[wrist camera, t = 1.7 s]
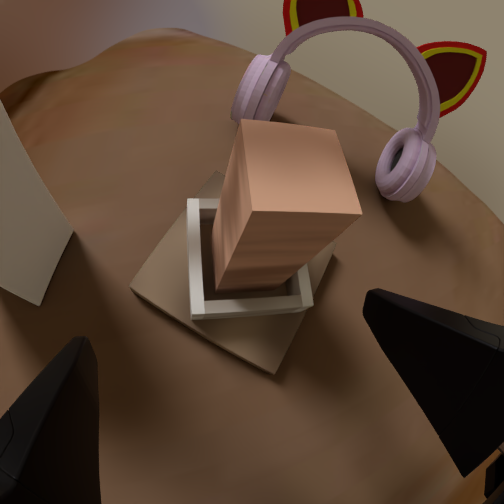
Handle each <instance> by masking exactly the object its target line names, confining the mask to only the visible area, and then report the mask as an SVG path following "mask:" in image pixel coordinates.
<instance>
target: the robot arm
mask: <svg viewBox="0 0 504 504" xmlns="http://www.w3.org/2000/svg"><path fill="white" fill-rule="evenodd" d="M363 316H364V318H365V320H366V322H367V324H368V325H369V327H370V329H371V331H372V333H373V334H374V336H375V338H376V340H377V342H378V343H379V345H380V347H381V349H382V350H383V352H384V353H385V355H386V356H387V358H388V359H389V361H390V362H391V363H392V365H393V366H394V368H395V369H396V371H397V372H398V374H399V375H400V377H401V378H402V380H403V381H404V383H405V384H406V386H407V387H408V389H409V390H410V392H411V393H412V395H413V396H414V398H415V399H416V401H417V403H418V404H419V406H420V407H421V409H422V410H423V412H424V413H425V415H426V417H427V418H428V420H429V421H430V423H431V425H432V426H433V428H434V429H435V431H436V433H437V434H438V436H439V438H440V440H441V441H442V443H443V444H444V446H445V448H446V449H447V451H448V453H449V454H450V456H451V458H452V460H453V461H454V463H455V465H456V466H457V468H458V470H459V472H460V473H461V475H462V476H463V477H464V478H465V477H466V476H467V475H468V474H470V473H471V472H472V471H473V470H474V469H476V468H477V467H478V466H479V465H480V464H481V463H482V462H483V461H484V460H486V459H487V458H488V457H489V456H490V455H491V454H492V453H493V452H494V451H495V450H496V449H498V450H499V451H500V452H501V453H500V454H499V455H498V457H497V458H496V459H495V460H494V461H493V462H492V463H491V464H490V465H489V466H488V467H487V468H486V479H485V491H484V495H485V497H486V498H487V500H486V501H485V502H484V503H483V504H504V326H501V325H497V324H493V323H489V322H485V321H482V320H479V319H475V318H472V317H469V316H466V315H465V316H464V315H462V314H459V313H456V312H453V311H450V310H446V309H443V308H440V307H437V306H434V305H430V304H427V303H424V302H421V301H418V300H414V299H411V298H408V297H405V296H402V295H398V294H395V293H392V292H389V291H386V290H382V289H379V288H376V289H372V290H369V291H368V292H367V294H366V298H365V302H364V306H363ZM0 504H101V494H100V479H99V394H98V370H97V359H96V356H95V353H94V351H93V349H92V346H91V343H90V341H89V339H88V337H86V336H78V337H74V338H72V340H71V341H70V342H69V343H68V344H67V345H66V346H65V347H64V348H63V349H62V350H61V351H60V352H59V353H58V354H57V355H56V356H55V357H54V358H53V359H52V361H51V362H50V363H49V364H48V365H47V366H46V367H45V368H44V369H43V370H42V371H41V372H40V374H39V375H38V376H37V377H36V378H35V379H34V380H33V381H32V382H31V384H30V385H29V386H28V387H27V388H26V389H25V390H24V392H23V393H22V394H21V395H20V396H19V397H18V398H17V400H16V401H15V402H14V403H13V404H12V405H11V407H10V408H9V410H7V411H6V413H5V414H4V415H3V416H2V417H1V419H0Z"/></svg>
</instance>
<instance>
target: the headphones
mask: <svg viewBox="0 0 504 504" xmlns="http://www.w3.org/2000/svg"><path fill="white" fill-rule="evenodd" d="M283 18H284V25H285V32H286V37H285V38H284V39H283V41H282V42H281V43H280V44H279V45H278V46H277V48H276V49H275V51H274V52H273V54H271V55H269V56H264V55H260V54H259V55H257V56H256V57H255V58H254V59H253V61H252V62H251V64H250V65H249V67H248V68H247V70H246V72H245V74H244V76H243V78H242V80H241V82H240V85H239V87H238V90H237V92H236V95H235V98H234V101H233V105H232V109H231V119H232V120H234V121H235V122H237V123H238V124H240V120H241V119H249V120H260V121H270V119H271V117H272V115H273V113H274V111H275V109H276V107H277V105H278V102H279V100H280V98H281V96H282V94H283V91H284V89H285V86H286V84H287V81H288V79H289V76H290V73H291V68H290V65H289V64H288V63H287V62H285V61H284V58H285V56H286V55H287V54H290V53H292V52H293V51H294V50H295V49H296V48H297V47H298V46H299V45H300V44H301V43H303V42H304V41H306V40H307V39H309V38H311V37H313V36H316V35H318V34H322V33H326V32H333V31H341V30H354V31H361V32H366V33H370V34H373V35H375V36H378V37H380V38H382V39H384V40H385V41H386V42H388V43H390V44H391V45H392V46H393V47H394V48H395V49H396V50H397V51H398V52H399V53H400V54H401V55H402V56H403V58H404V59H405V61H406V62H407V64H408V66H409V68H410V69H411V71H412V73H413V75H414V78H415V80H416V83H417V85H418V91H419V103H420V104H419V113H418V115H417V119H418V123H417V125H416V126H415V128H404V129H402V130H400V131H398V132H397V133H396V134H395V135H394V136H393V137H392V138H391V139H390V141H389V142H388V143H387V145H386V147H385V148H384V150H383V152H382V154H381V156H380V159H379V161H378V165H377V168H376V174H375V182H376V185H377V187H378V189H379V191H380V194H381V195H382V196H383V197H385V198H387V199H389V200H391V201H394V200H398V201H401V202H409V201H411V200H413V199H414V198H416V197H417V196H418V195H419V194H420V193H421V192H422V191H423V189H424V188H425V187H426V185H427V183H428V182H429V180H430V178H431V176H432V173H433V171H434V167H435V163H436V150H435V148H434V146H433V145H432V144H431V143H430V142H431V140H432V138H433V136H434V134H435V131H436V128H437V125H438V121H439V118H440V117H442V116H444V115H446V114H448V113H450V112H452V111H454V110H456V109H457V108H458V107H459V106H461V105H462V104H463V103H464V102H465V100H466V99H467V98H468V97H469V96H470V94H471V93H472V92H473V90H474V88H475V87H476V85H477V83H478V82H479V80H480V78H481V75H482V73H483V71H484V66H485V62H486V56H487V55H486V54H487V52H486V51H485V50H483V49H482V48H480V47H477V46H474V45H471V44H468V43H462V42H451V41H444V42H433V43H428V44H424V45H421V46H419V47H415V46H414V45H413V44H412V43H411V42H410V41H409V40H408V39H407V38H406V37H404V36H403V35H402V34H400V33H399V32H397V31H396V30H394V29H393V28H391V27H389V26H386V25H384V24H382V23H380V22H378V21H374V20H371V19H367V18H363V11H362V7H361V4H360V2H359V0H284V3H283Z"/></svg>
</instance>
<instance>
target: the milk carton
mask: <svg viewBox="0 0 504 504" xmlns="http://www.w3.org/2000/svg"><path fill="white" fill-rule="evenodd" d="M73 231H74V229H73V227H72V226H71V224H70V223H69V222H68V220H67V219H66V217H65V216H64V214H63V213H62V211H61V210H60V208H59V207H58V205H57V203H56V202H55V200H54V199H53V197H52V196H51V194H50V192H49V191H48V189H47V188H46V186H45V184H44V183H43V181H42V179H41V178H40V176H39V174H38V172H37V171H36V169H35V167H34V166H33V164H32V162H31V160H30V158H29V157H28V155H27V153H26V151H25V149H24V147H23V145H22V143H21V142H20V140H19V138H18V136H17V134H16V132H15V130H14V128H13V126H12V124H11V121H10V119H9V117H8V115H7V113H6V111H5V109H4V106H3V104H2V102H1V100H0V287H2V288H4V289H6V290H8V291H9V292H11V293H13V294H15V295H17V296H19V297H21V298H23V299H25V300H27V301H29V302H31V303H33V304H35V305H37V306H40V304H41V302H42V299H43V296H44V294H45V291H46V289H47V287H48V284H49V282H50V279H51V277H52V275H53V273H54V270H55V268H56V266H57V264H58V262H59V259H60V257H61V255H62V253H63V251H64V249H65V247H66V245H67V243H68V241H69V239H70V237H71V235H72V233H73Z"/></svg>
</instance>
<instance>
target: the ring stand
mask: <svg viewBox="0 0 504 504" xmlns="http://www.w3.org/2000/svg"><path fill="white" fill-rule="evenodd" d="M224 180H225V175H223V174H222V173H220V172H218V171H215V172H214V173H213V175H212V176H211V177H210V178H209V179H208V181H207V182H206V183H205V184H204V186H203V187H202V188H201V189H200V191H199V192H198V193H197V194H196V196H195V197H194V198H193V199H187V207H186V208H185V209H184V211H183V212H182V213H181V215H180V216H179V217H178V218H177V220H176V221H175V222H174V224H173V225H172V226H171V228H170V229H169V230H168V232H167V233H166V234H165V236H164V237H163V238H162V240H161V241H160V242H159V244H158V245H157V246H156V248H155V249H154V251H153V252H152V253H151V255H150V256H149V258H148V259H147V260H146V262H145V263H144V265H143V266H142V267H141V269H140V270H139V272H138V273H137V274H136V276H135V277H134V279H133V280H132V282H131V283H130V285H129V287H130V289H131V290H132V291H133V292H134V293H136V294H137V295H139V296H140V297H141V298H143V299H144V300H146V301H147V302H149V303H150V304H152V305H153V306H155V307H156V308H158V309H159V310H161V311H162V312H164V313H165V314H167V315H169V316H170V317H172V318H173V319H175V320H176V321H178V322H179V323H181V324H183V325H184V326H186V327H187V328H189V329H191V330H192V331H194V332H196V333H197V334H199V335H201V336H202V337H204V338H206V339H207V340H209V341H211V342H212V343H214V344H216V345H217V346H219V347H221V348H223V349H224V350H226V351H228V352H230V353H231V354H233V355H235V356H237V357H239V358H240V359H242V360H244V361H246V362H248V363H250V364H251V365H253V366H255V367H257V368H259V369H261V370H263V371H265V372H266V373H268V374H275V373H276V371H277V369H278V367H279V365H280V364H281V362H282V360H283V358H284V356H285V354H286V352H287V350H288V348H289V346H290V344H291V342H292V340H293V338H294V336H295V334H296V332H297V330H298V328H299V326H300V324H301V322H302V320H303V318H304V315H305V313H306V311H307V309H308V308H310V307H312V306H314V304H313V296H314V294H315V292H316V290H317V287H318V285H319V283H320V281H321V279H322V276H323V274H324V272H325V270H326V267H327V265H328V263H329V260H330V258H331V256H332V253H333V251H334V249H335V246H336V244H337V243H336V242H334V241H332V242H331V243H330V244H328V245H327V246H326V247H325V248H324V249H323V250H321V251H320V252H319V253H318V254H317V255H316V256H314V257H313V258H312V259H311V260H310V261H309V262H307V263H306V264H305V265H304V266H303V267H302V268H300V269H299V270H298V271H297V272H296V273H294V274H293V275H292V276H291V277H290V278H288V279H287V280H286V281H285V282H284V283H282V284H281V285H280V286H279V287H278V288H276V289H275V290H271V291H255V292H237V293H216V294H215V291H214V278H213V264H212V249H211V233H212V229H213V225H214V220H215V216H216V212H217V208H218V204H219V200H220V196H221V192H222V188H223V184H224Z"/></svg>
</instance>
